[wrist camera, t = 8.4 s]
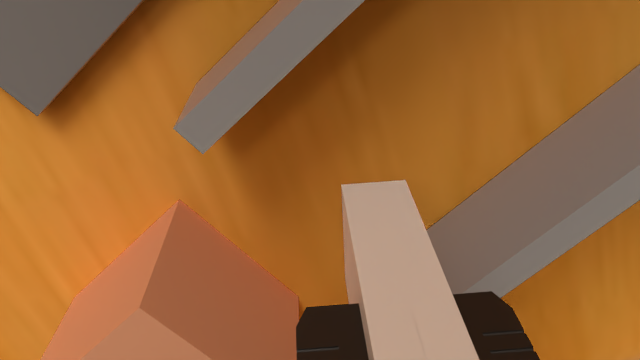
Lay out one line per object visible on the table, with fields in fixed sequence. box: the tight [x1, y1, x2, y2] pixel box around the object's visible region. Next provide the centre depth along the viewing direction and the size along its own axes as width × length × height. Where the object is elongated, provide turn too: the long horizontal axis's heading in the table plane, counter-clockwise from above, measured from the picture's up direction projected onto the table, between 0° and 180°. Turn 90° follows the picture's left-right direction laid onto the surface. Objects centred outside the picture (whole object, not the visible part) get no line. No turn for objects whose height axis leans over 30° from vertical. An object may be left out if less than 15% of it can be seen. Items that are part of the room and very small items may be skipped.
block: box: [41, 199, 299, 360], centre depth 19 cm, size 6×6×6 cm
